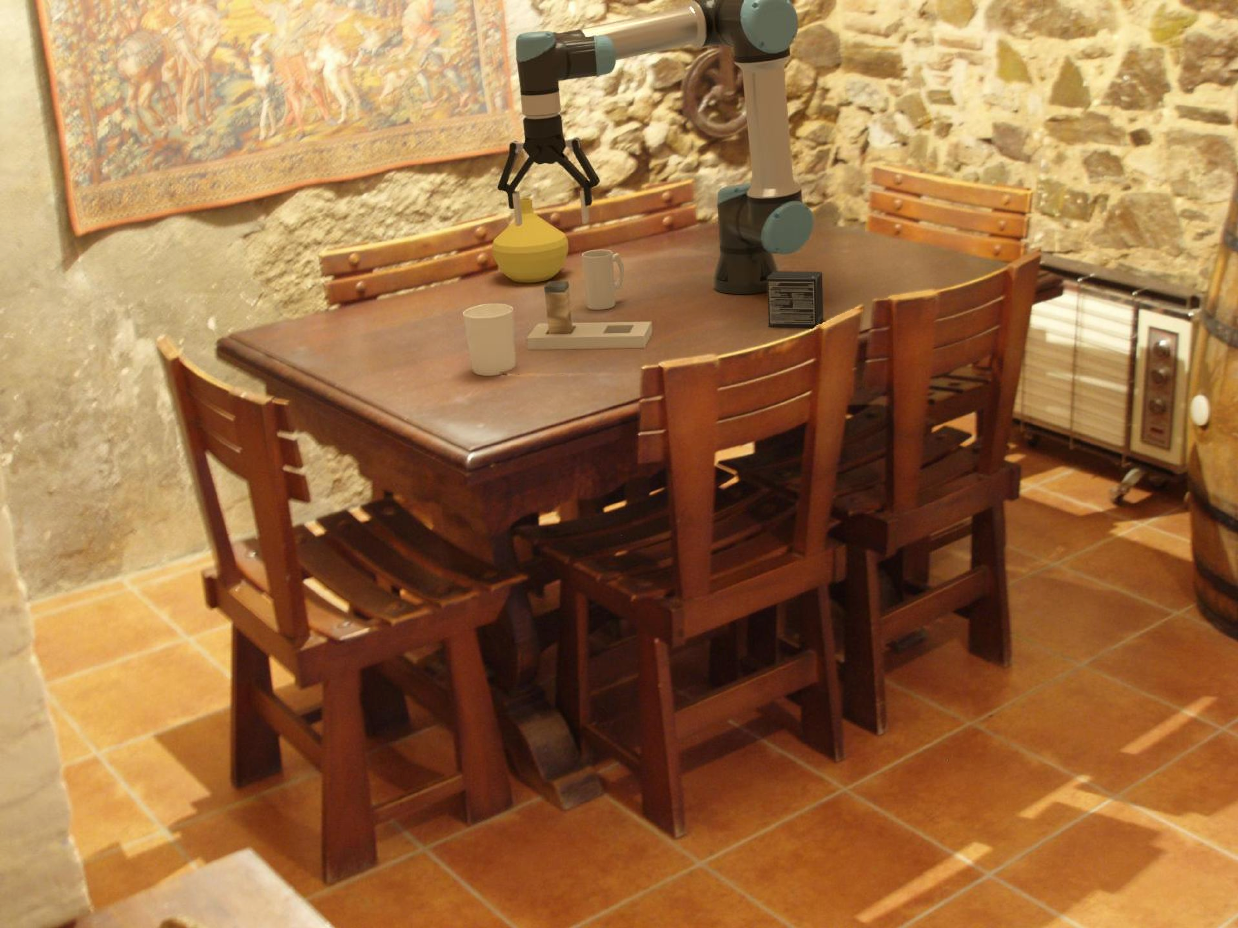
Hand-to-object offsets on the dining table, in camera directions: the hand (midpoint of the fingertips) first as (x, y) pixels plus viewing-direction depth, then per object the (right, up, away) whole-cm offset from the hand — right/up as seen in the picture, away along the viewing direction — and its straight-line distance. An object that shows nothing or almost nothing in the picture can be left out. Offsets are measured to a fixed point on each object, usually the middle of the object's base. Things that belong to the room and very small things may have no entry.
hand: (552, 223), depth 284 cm
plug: (+2, -23, +8) cm, 24 cm away
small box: (+50, -19, +11) cm, 54 cm away
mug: (+11, -12, +34) cm, 38 cm away
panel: (+8, -23, +7) cm, 26 cm away
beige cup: (-11, -29, -4) cm, 32 cm away
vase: (-7, -3, +61) cm, 62 cm away
